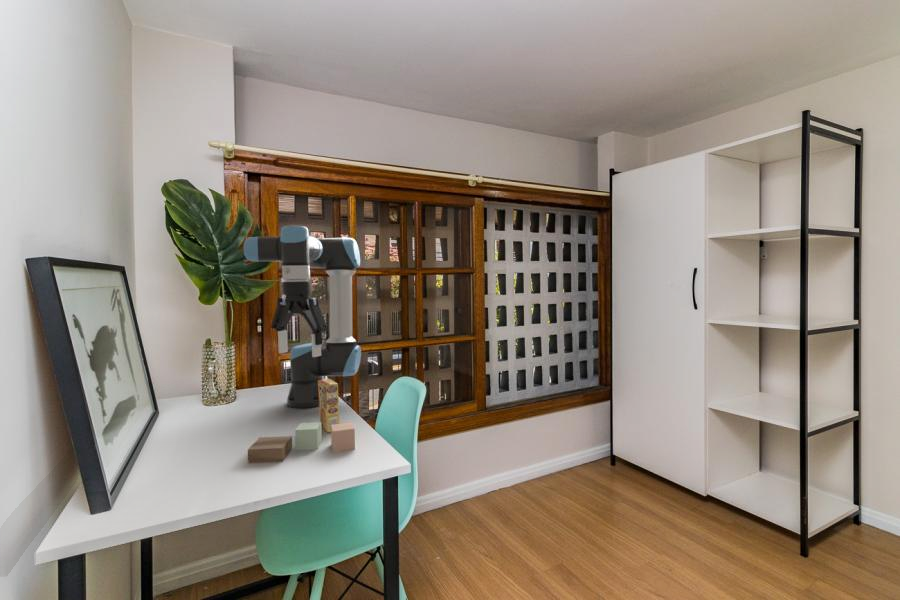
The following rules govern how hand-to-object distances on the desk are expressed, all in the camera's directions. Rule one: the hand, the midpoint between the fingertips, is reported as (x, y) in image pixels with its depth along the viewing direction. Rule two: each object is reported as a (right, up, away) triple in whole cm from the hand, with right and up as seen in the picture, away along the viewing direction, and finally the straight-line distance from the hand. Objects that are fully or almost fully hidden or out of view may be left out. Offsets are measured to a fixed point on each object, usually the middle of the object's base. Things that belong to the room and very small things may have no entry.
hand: (299, 354), depth 128 cm
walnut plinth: (-6, -28, -5) cm, 29 cm away
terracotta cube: (+12, -27, 0) cm, 30 cm away
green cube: (+2, -27, +1) cm, 27 cm away
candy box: (+4, -26, +17) cm, 31 cm away
